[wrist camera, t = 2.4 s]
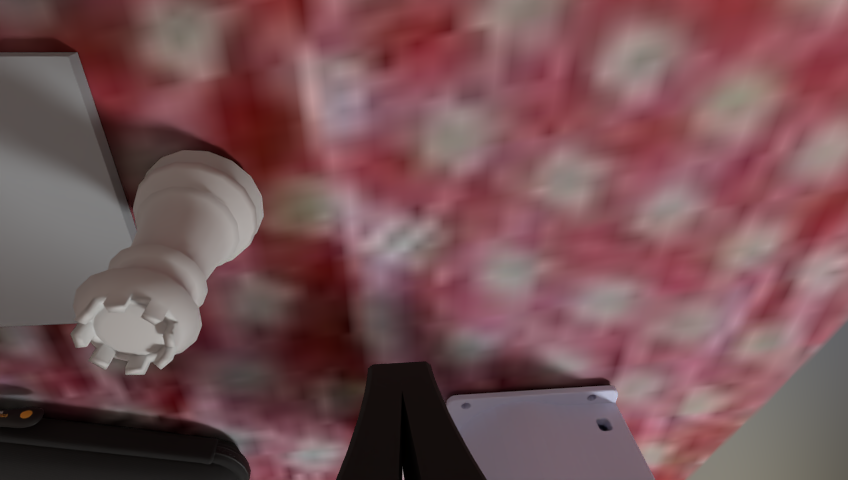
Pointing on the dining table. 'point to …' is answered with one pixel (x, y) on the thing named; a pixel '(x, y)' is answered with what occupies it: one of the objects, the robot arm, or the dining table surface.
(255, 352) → the dining table surface
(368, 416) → the robot arm
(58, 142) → the slate mat
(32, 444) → the carrying case or bag
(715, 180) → the dining table surface
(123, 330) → the rook chess piece
